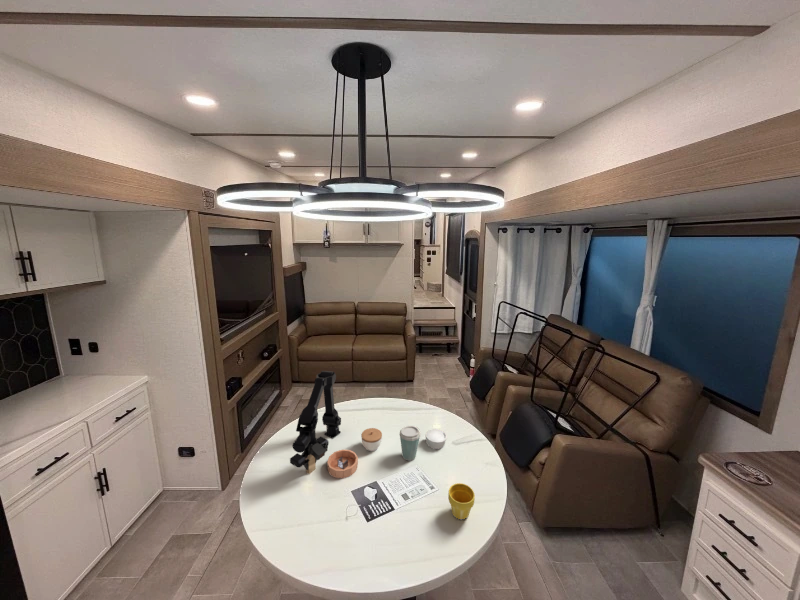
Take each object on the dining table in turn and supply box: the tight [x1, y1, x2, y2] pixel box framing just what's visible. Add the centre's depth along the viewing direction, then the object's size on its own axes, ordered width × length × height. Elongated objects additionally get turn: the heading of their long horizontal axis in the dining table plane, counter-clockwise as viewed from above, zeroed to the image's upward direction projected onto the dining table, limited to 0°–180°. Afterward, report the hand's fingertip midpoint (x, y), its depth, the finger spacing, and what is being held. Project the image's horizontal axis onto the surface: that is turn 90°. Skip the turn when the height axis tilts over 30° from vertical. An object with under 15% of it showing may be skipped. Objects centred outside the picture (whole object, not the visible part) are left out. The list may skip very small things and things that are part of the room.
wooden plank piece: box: [305, 454, 317, 475], centre depth 149 cm, size 2×4×8 cm, turn 148°
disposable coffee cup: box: [399, 425, 422, 462], centre depth 159 cm, size 11×11×15 cm
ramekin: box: [424, 428, 448, 450], centre depth 169 cm, size 11×11×5 cm
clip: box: [337, 457, 348, 469], centre depth 152 cm, size 4×3×3 cm
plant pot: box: [447, 482, 476, 520], centre depth 128 cm, size 10×10×10 cm
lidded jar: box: [360, 427, 383, 452], centre depth 165 cm, size 11×11×9 cm
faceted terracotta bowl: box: [326, 449, 359, 479], centre depth 152 cm, size 14×14×4 cm
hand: (310, 466), depth 149 cm, fingers open, 4 cm apart
